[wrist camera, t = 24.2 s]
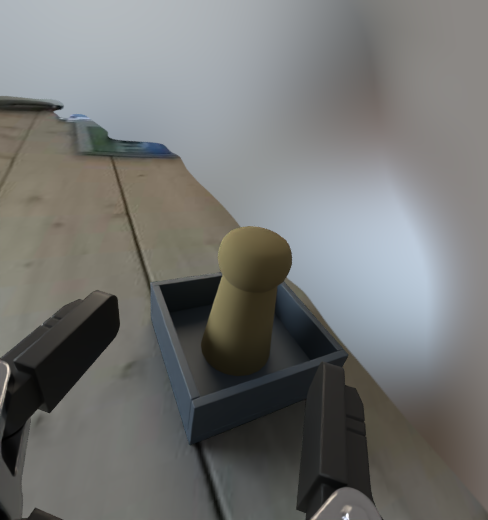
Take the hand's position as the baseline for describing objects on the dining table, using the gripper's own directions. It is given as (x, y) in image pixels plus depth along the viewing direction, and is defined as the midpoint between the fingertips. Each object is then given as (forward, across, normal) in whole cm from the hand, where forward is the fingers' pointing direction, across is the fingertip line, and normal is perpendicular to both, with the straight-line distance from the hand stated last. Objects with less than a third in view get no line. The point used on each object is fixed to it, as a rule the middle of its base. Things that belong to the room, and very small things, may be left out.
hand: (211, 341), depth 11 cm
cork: (+10, 0, +12) cm, 16 cm away
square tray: (+10, 0, +12) cm, 16 cm away
